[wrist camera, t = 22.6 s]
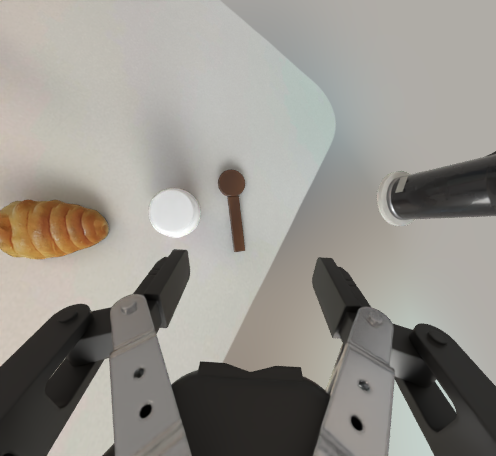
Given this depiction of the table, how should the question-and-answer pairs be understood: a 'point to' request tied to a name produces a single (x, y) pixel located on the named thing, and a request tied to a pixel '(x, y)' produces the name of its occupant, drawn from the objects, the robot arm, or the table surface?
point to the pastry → (49, 228)
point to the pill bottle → (174, 212)
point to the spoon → (234, 204)
